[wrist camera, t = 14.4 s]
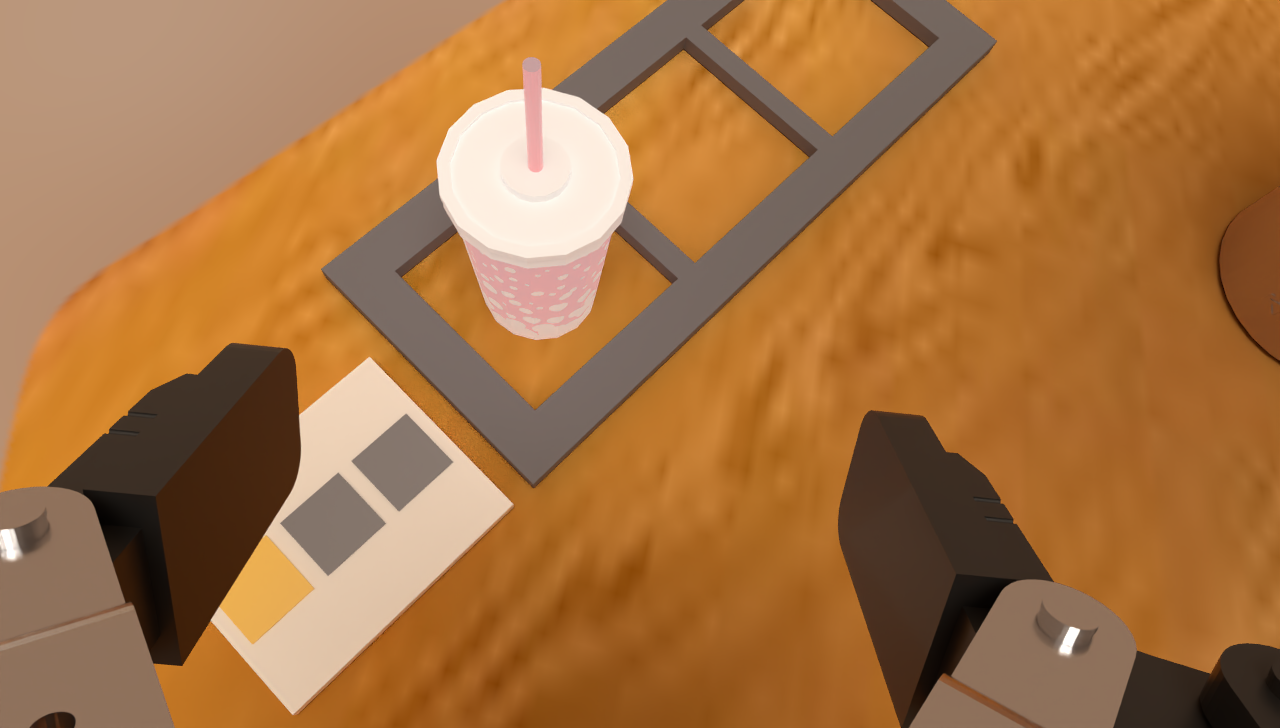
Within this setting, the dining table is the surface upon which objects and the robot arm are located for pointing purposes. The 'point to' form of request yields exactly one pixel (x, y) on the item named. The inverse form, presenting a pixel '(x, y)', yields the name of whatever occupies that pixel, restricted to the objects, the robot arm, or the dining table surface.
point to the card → (354, 536)
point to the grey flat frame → (648, 227)
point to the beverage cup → (535, 202)
